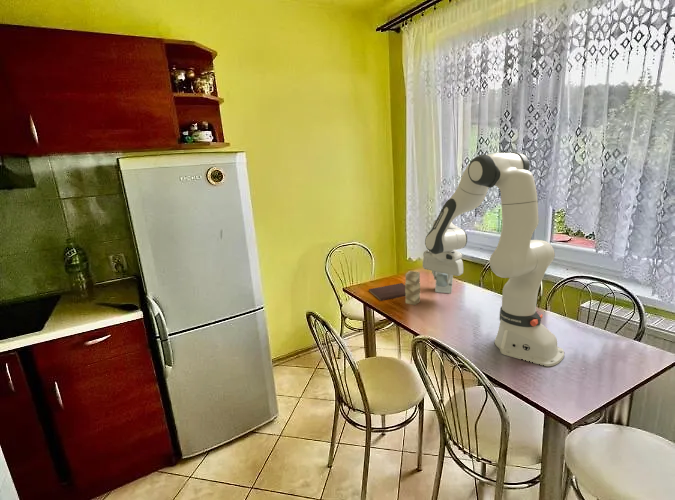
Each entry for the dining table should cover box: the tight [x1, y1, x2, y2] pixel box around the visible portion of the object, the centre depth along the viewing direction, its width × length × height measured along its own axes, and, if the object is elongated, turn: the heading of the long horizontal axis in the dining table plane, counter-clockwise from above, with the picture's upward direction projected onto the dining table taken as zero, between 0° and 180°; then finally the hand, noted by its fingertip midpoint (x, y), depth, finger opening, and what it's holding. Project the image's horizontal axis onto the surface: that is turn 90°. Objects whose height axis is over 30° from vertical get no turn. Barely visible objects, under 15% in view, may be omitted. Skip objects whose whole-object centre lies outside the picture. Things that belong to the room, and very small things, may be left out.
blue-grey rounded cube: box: [437, 273, 448, 287], centre depth 175 cm, size 5×5×5 cm
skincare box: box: [434, 272, 454, 294], centre depth 188 cm, size 8×6×15 cm
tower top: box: [405, 270, 421, 286], centre depth 175 cm, size 5×5×5 cm
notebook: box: [368, 282, 406, 302], centre depth 192 cm, size 15×20×2 cm
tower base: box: [405, 292, 421, 306], centre depth 178 cm, size 5×5×5 cm
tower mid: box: [404, 282, 421, 295], centre depth 177 cm, size 5×5×5 cm
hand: (442, 280), depth 175 cm, fingers closed on blue-grey rounded cube, 5 cm apart
